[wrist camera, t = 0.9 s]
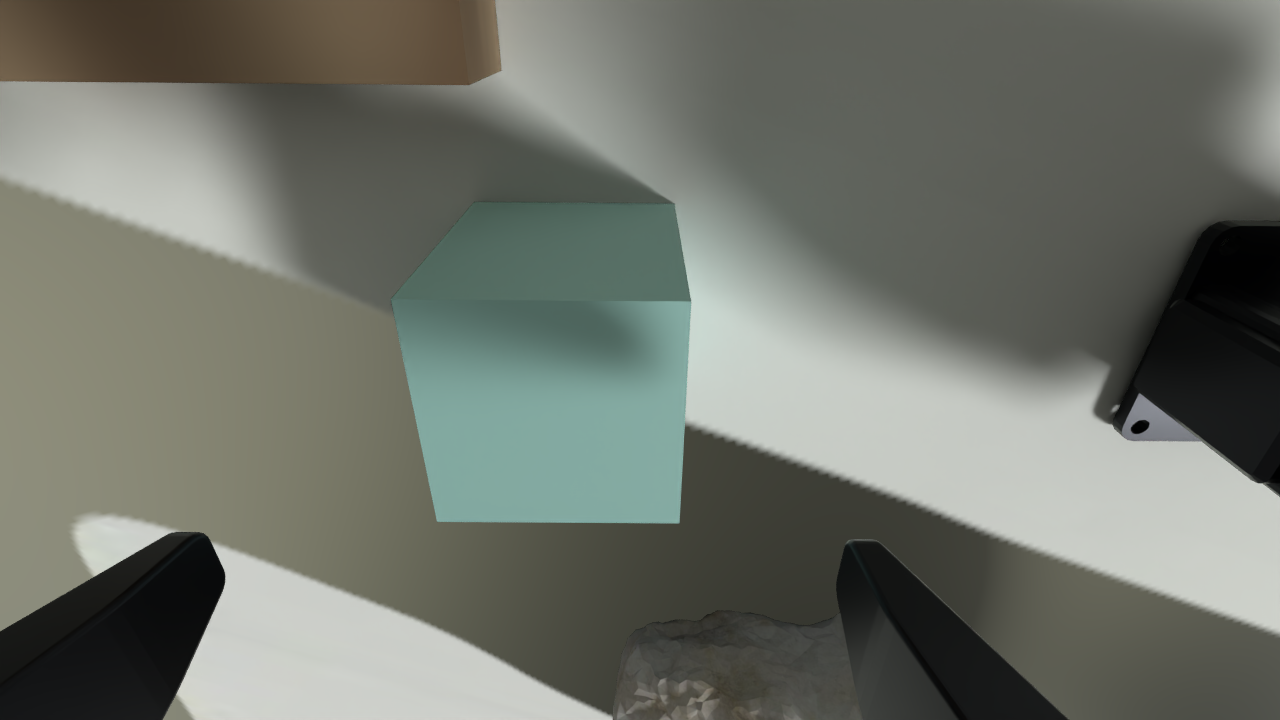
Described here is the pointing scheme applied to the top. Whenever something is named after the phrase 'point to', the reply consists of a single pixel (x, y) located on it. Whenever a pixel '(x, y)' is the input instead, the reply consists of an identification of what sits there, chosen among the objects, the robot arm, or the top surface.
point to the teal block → (551, 363)
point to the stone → (736, 671)
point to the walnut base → (250, 41)
